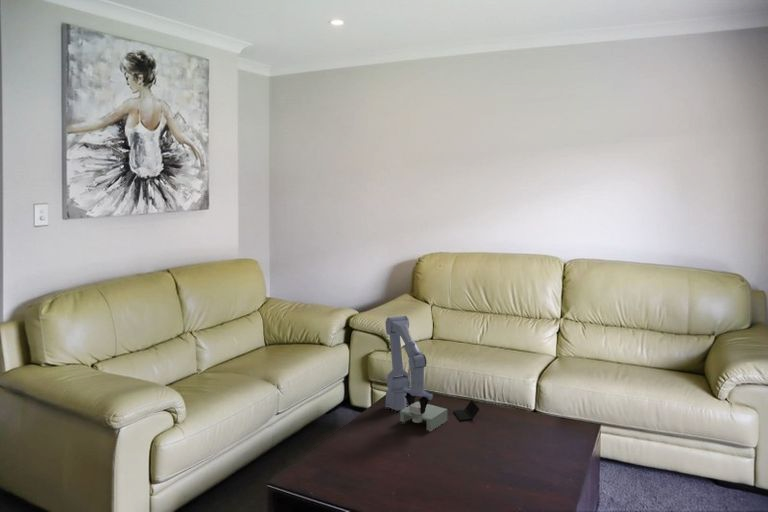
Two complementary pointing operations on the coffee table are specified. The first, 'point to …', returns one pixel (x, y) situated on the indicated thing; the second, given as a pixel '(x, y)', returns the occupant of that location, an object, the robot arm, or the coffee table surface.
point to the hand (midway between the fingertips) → (417, 411)
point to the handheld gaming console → (467, 412)
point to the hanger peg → (415, 412)
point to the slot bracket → (427, 416)
